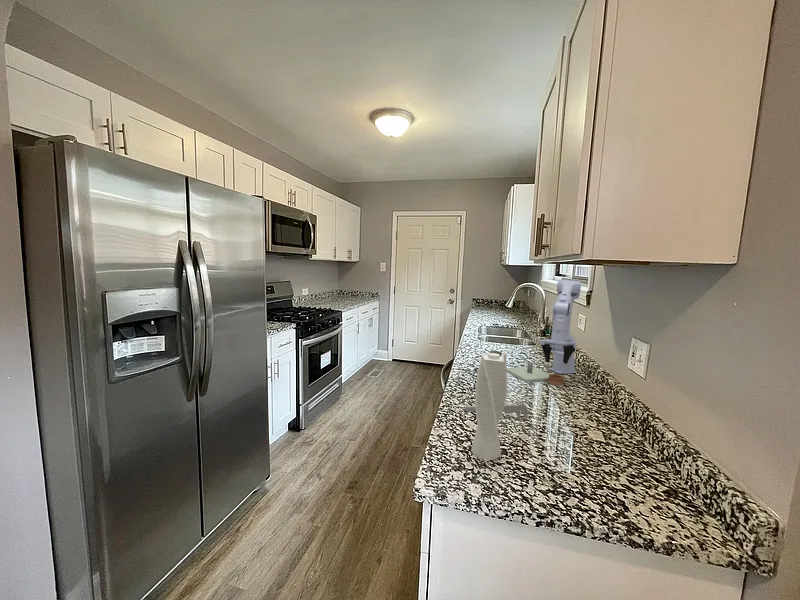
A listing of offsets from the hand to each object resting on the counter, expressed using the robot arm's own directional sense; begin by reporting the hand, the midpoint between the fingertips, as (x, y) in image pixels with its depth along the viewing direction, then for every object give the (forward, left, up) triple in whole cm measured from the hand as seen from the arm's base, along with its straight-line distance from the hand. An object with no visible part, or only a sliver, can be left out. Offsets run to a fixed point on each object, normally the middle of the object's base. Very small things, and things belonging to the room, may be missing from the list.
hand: (556, 362), depth 140 cm
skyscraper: (+57, +41, -10) cm, 71 cm away
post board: (+2, -13, -10) cm, 16 cm away
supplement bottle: (+22, -11, -10) cm, 27 cm away
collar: (-3, -2, -10) cm, 10 cm away
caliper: (+42, +20, -10) cm, 48 cm away
